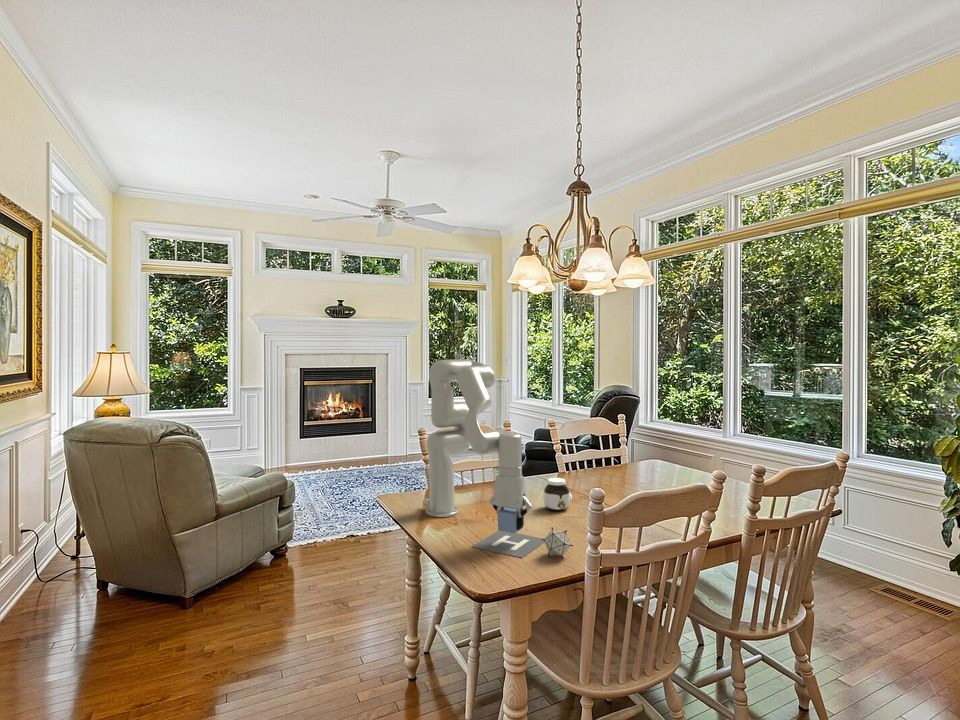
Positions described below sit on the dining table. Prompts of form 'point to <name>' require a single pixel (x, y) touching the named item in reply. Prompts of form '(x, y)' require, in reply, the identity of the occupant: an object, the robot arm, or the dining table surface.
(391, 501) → the dining table surface
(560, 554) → the game die
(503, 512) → the slate cube
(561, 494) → the spread jar
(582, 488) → the dining table surface
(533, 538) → the letter mat
